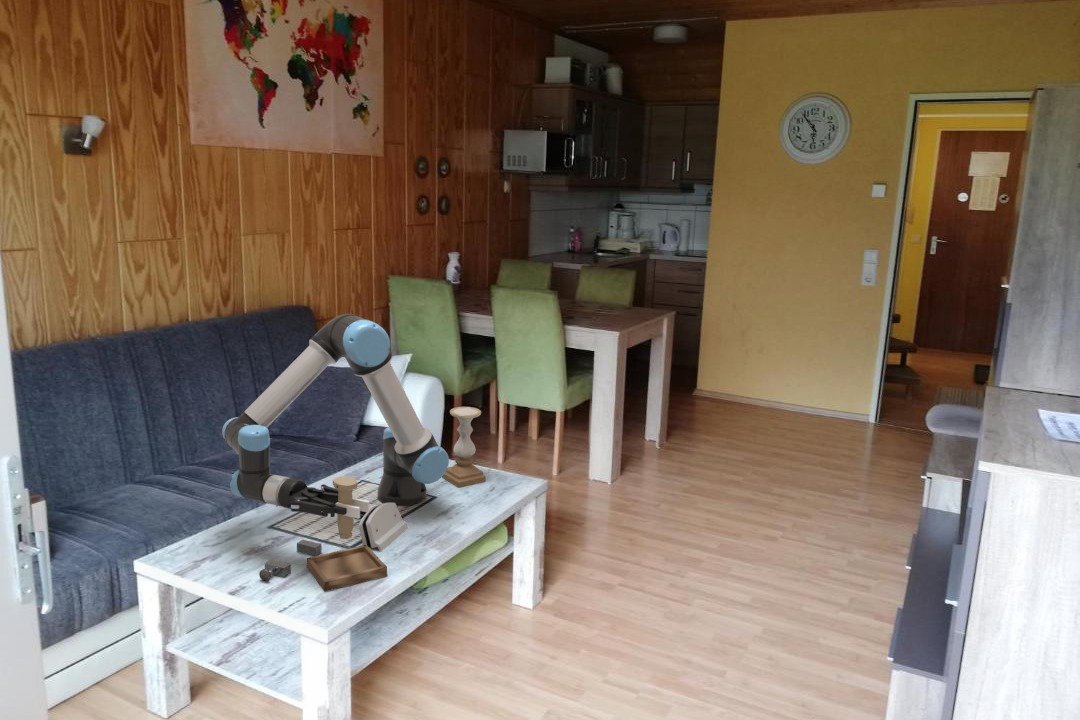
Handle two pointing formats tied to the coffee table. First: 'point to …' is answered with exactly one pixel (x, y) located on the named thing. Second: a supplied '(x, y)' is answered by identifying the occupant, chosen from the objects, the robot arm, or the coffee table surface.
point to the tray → (346, 567)
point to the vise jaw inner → (309, 548)
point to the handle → (345, 497)
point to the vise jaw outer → (275, 569)
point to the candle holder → (464, 451)
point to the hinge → (381, 526)
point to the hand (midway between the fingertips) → (363, 509)
